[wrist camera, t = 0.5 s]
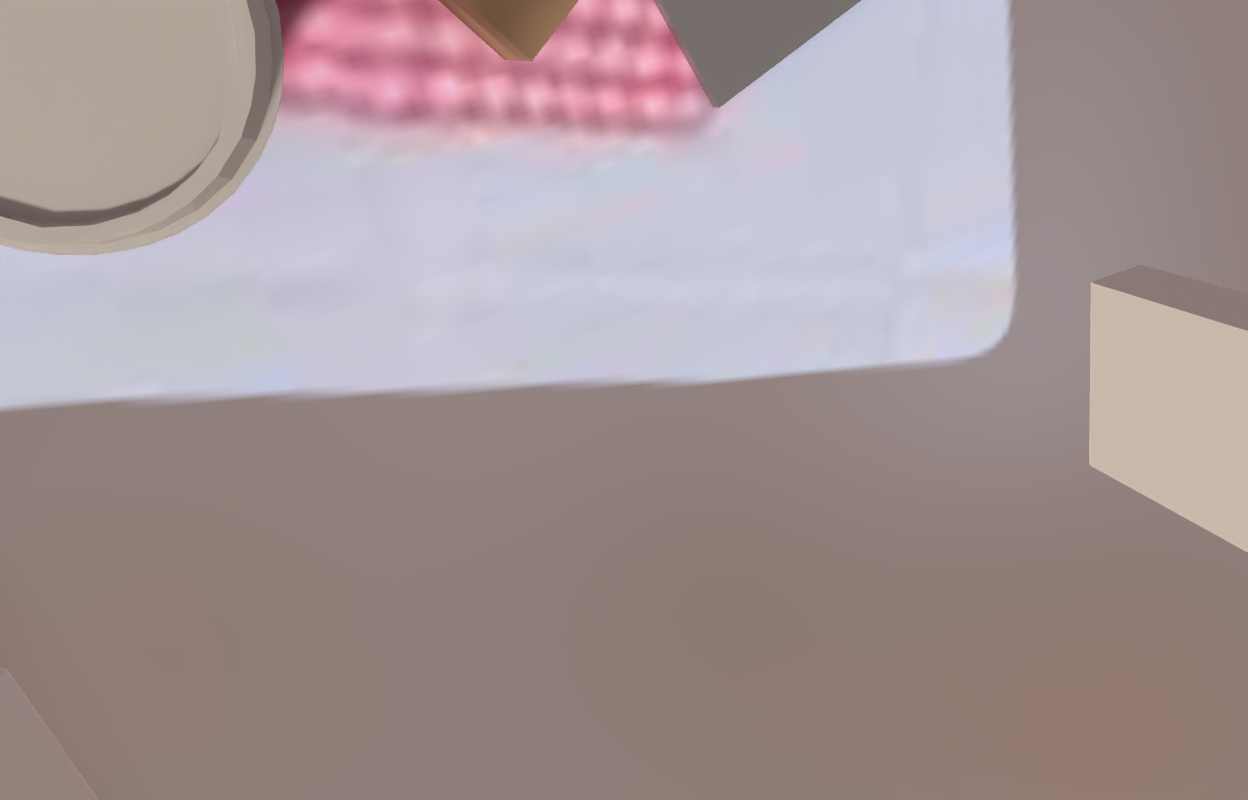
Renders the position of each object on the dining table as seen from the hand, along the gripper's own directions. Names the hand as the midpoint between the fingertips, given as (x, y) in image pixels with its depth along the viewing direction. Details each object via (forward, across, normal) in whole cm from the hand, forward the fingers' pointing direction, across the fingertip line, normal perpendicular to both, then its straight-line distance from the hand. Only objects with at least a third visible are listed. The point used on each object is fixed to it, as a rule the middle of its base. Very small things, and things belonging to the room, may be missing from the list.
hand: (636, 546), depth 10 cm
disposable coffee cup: (+25, -7, +8) cm, 27 cm away
